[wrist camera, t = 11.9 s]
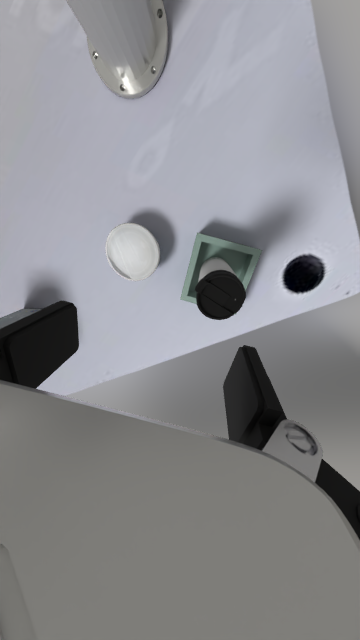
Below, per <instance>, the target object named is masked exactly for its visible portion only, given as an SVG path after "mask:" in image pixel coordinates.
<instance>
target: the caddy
mask: <svg viewBox="0 0 360 640" xmlns="http://www.w3.org/2000/svg"><path fill="white" fill-rule="evenodd" d="M261 252H262V250H260V249H256V248H252V247H249V246H245V245H241V244H237V243H233V242H230V241H226V240H222V239H218V238H215V237H211V236H207V235H203V234H200V233H197V235H196V239H195V243H194V247H193V251H192V255H191V259H190V263H189V267H188V271H187V275H186V279H185V283H184V287H183V291H182V295H181V300H184V301H188V302H192V303H195V304H197V302H196V296H197V292H196V291H195V287H196V285H197V284H198V281H199V275H200V270H201V266H202V264H203V263H204V262H205V261H206V260H207V259H209V258H211V257H220V258H222V259H224V260H225V261H226V262H227V264H228V265H229V266H230V267H231V269H232V270H233V271H234V273H235V274H236V275H237V277H238V278H239V279H240V281H241V283H242V284H243V286H244V288H245V291H246V288H247V286H248V284H249V281H250V279H251V276H252V274H253V271H254V269H255V267H256V264H257V262H258V259H259V257H260V254H261ZM235 314H236V313H235Z"/></svg>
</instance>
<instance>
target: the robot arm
mask: <svg viewBox="0 0 360 640" xmlns="http://www.w3.org/2000/svg"><path fill="white" fill-rule="evenodd" d="M66 1H67V3H68V5H69V6H70V8H71V10H72V11H73V13H74V15H75V16H76V18H77V20H78V21H79V23H80V25H81V26H82V28H83V30H84V31H85V33H86V35H87V42H88V48H89V53H90V56H91V59H92V62H93V65H94V67H95V69H96V71H97V73H98V75H99V76H100V78H101V79H102V81H103V82H104V84H105V85H106V86H107V87H108V88H109V89H110V90H111V91H112V92H113V93H115V94H116V95H118V96H119V97H123V98H126V99H134V98H139V97H141V96H143V95H145V94H146V93H147V92H148V91H150V90H151V89H152V88H153V86H154V85H155V84H156V82H157V81H158V79H159V77H160V75H161V73H162V70H163V67H164V65H165V61H166V56H167V51H168V25H167V19H166V13H165V9H164V4H163V1H162V0H66ZM154 73H155V74H154ZM78 347H79V339H78V321H77V308H76V307H75V306H74V304H73V303H70V302H66V301H59V302H57V303H55V304H52V305H50V306H48V307H46V308H44V309H42V310H40V311H37V312H35V313H33V314H31V315H29V316H27V317H24V318H22V319H20V320H18V321H16V322H14V323H12V324H9V325H7V326H5V327H3V328H1V329H0V640H360V491H359V490H357V489H356V488H355V487H354V486H353V485H352V484H351V483H349V482H348V481H347V480H346V479H345V478H344V477H342V476H341V475H340V474H339V473H338V472H337V471H335V470H334V469H333V468H332V467H331V466H330V465H329V464H328V463H326V462H325V461H324V460H323V459H322V456H323V450H322V447H321V445H320V443H319V441H318V440H317V438H316V437H315V436H314V435H313V433H312V432H310V431H309V430H308V429H307V428H306V427H305V426H303V425H302V424H300V423H298V422H296V421H293V420H289V419H287V418H286V416H285V413H284V411H283V409H282V407H281V405H280V402H279V400H278V398H277V395H276V393H275V391H274V389H273V386H272V384H271V381H270V379H269V377H268V376H267V374H266V371H265V369H264V367H263V365H262V362H261V360H260V357H259V355H258V353H257V351H256V349H255V348H254V347H250V346H246V345H244V346H243V347H239V349H238V351H237V354H236V356H235V358H234V361H233V363H232V366H231V368H230V370H229V372H228V375H227V377H226V379H225V382H224V386H223V389H224V399H225V407H226V416H227V425H228V434H229V440H228V439H225V438H221V437H217V436H214V435H210V434H207V433H203V432H199V431H196V430H192V429H189V428H185V427H181V426H177V425H174V424H170V423H166V422H162V421H158V420H155V419H151V418H147V417H143V416H140V415H135V414H132V413H128V412H124V411H120V410H116V409H113V408H109V407H105V406H101V405H97V404H93V403H89V402H85V401H82V400H78V399H73V398H69V397H66V396H62V395H58V394H54V393H50V392H46V391H42V390H38V389H36V388H37V387H38V386H39V385H40V384H41V383H42V382H43V381H45V380H46V379H47V378H48V377H49V376H50V375H51V374H52V373H53V372H54V371H56V370H57V369H58V368H59V367H60V366H61V365H62V364H63V363H64V362H65V361H66V360H68V359H69V358H70V357H71V356H72V355H73V354H74V353H75V352H76V351H77V350H78Z"/></svg>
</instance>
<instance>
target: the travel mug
mask: <svg viewBox="0 0 360 640" xmlns="http://www.w3.org/2000/svg"><path fill="white" fill-rule="evenodd" d="M195 291H196V292H197V296H196V302H197V306H198V308H199V310H200V311H201V312H202V313H203V314H204V315H205V316H206V317H209V318H211V319H216V320H222V319H227V318H229V317H231V316H232V315H234V314H235V313H237V312H238V311H239V310H240V308H241V307H242V304H243V303H244V300H245V298H246V292H245V288H244V286H243V284H242V283H241V281H240V279H239V278H238V277H237V275H236V274H235V273H234V271H233V270H232V269H231V267H230V266H229V265H228V264H227V262H226V261H225V260H224V259H222V258H220V257H211V258H209V259H207V260H206V261H205V262H204V263H203V264H202V266H201V270H200V275H199V281H198V284H197V285H196V287H195Z"/></svg>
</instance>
